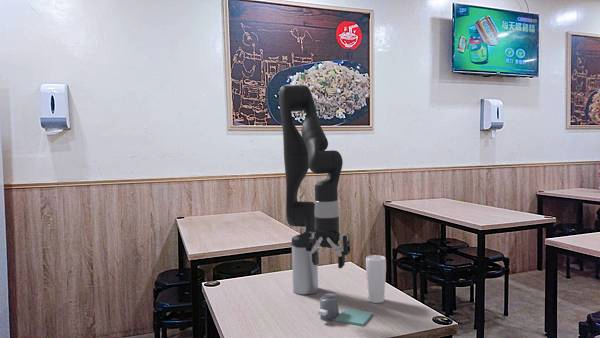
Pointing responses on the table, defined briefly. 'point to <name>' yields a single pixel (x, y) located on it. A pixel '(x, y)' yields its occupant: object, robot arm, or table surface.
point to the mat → (354, 317)
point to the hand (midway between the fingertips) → (328, 266)
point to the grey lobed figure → (329, 307)
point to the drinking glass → (376, 277)
